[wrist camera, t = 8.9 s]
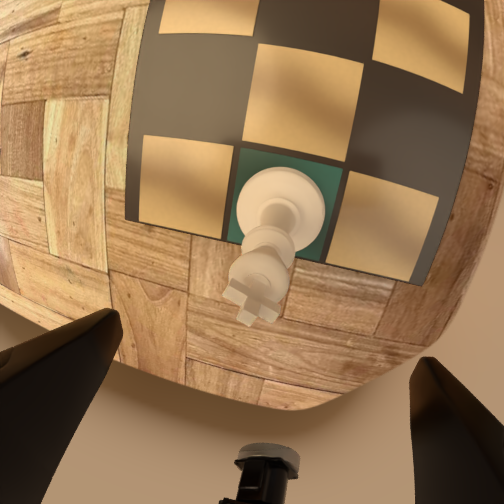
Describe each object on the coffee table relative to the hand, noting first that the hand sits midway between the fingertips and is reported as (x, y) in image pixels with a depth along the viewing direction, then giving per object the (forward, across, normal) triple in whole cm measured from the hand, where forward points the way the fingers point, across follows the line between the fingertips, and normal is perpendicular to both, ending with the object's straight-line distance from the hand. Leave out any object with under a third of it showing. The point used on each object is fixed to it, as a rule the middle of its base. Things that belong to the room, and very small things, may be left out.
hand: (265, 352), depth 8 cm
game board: (+12, -1, -18) cm, 21 cm away
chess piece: (+11, +1, -1) cm, 11 cm away
